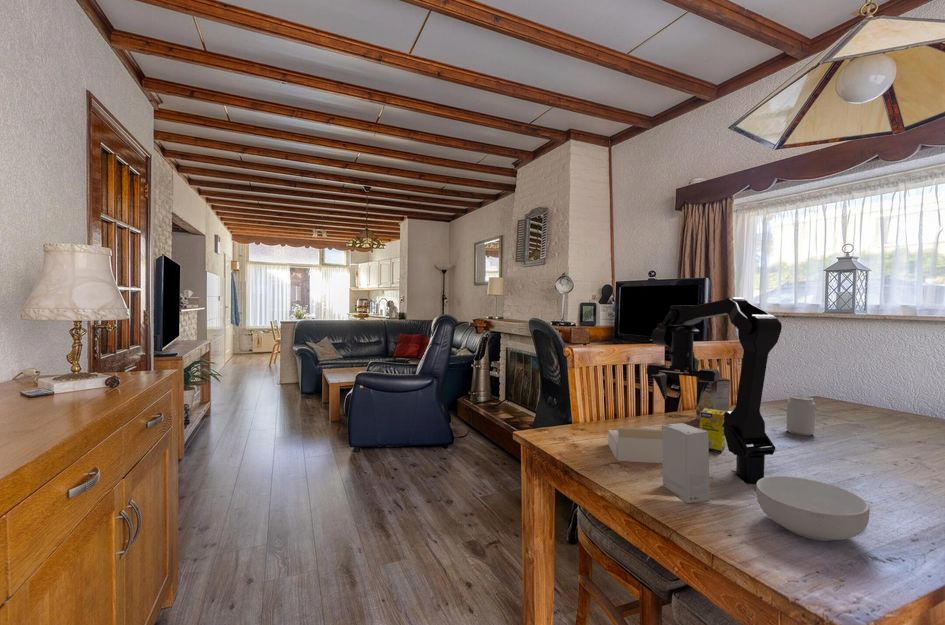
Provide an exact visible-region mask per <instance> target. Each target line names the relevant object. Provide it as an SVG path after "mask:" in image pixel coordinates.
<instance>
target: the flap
mask: <svg viewBox="0 0 945 625" xmlns="http://www.w3.org/2000/svg"><path fill="white" fill-rule="evenodd" d="M617 430H618V452H617V459H616V460H617V461H619V462H635V463H650V464H663V449H662V428H650V427H649V428H647V427H627V426H626V427H625V426H617Z"/></svg>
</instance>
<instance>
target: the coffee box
mask: <svg viewBox="0 0 945 625" xmlns="http://www.w3.org/2000/svg"><path fill="white" fill-rule="evenodd" d="M700 380H701V379H700V378H699V377H696V382H697V381H700ZM730 387H731V380H730V379H729V378H724V377H721V376H720V380H717V381H715V382H713V383H711V384H709V385H708V386H707V388H706V389H705V391H704V394H703V396H702V399H701V401H700V404H697V400H696V402H695V405H696V406H695V420H698V421H700V412H701V411H702V410H703V409H704V408H707V409H713V410H720V411H730Z"/></svg>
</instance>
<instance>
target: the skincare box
mask: <svg viewBox="0 0 945 625" xmlns="http://www.w3.org/2000/svg"><path fill="white" fill-rule="evenodd" d="M661 429H662V449H663V463H662V486H663V487H665V488H666V489H667V490H668V491H671V492H672V493H674V494H675V497H677V499H680V500H681V501H683V502H685V503H687V504H693V503H709V502H710V455H709V452H710V451H709V446H708V432H707V431H704V430H701V429H700V428H698V427H695V426H693V425H689V424H686V423H684V422H680V423H679V422H678V423H668V424H662V425H661Z"/></svg>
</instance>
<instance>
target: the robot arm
mask: <svg viewBox="0 0 945 625" xmlns="http://www.w3.org/2000/svg"><path fill="white" fill-rule="evenodd" d="M722 316H728V317H729V321H730V323H731V324H732V325H733V326H734V327H735V328H736V329H737V330H738V332H737V333H738V340H739V343H740V345H741V347H742V350H743V353H742V359H741V361H742V362H741V367H740V375H739V381H738V387H737V394H736V395H737V397H736V401H735V402H736V403H735V406H734V408H733V409H732V410H729V411H726V412H725V414H724V423H723V425H722V427H724V435H725V443H726V445H727V450H728V452H730V453H732V454H733V455H734V456H736V460H735V461H736V462H735V463H736V464H735V466H736V468H735V470H733V469H732V470H730V471H731V472H732V474H734V475H735V476H737V477H738V478H739V479H741V481H742V482H744V483H746V484H747V483H748V484H757V481H758V480H760V479H762V478H765V477H766V476H765V461H766V459H765V457H766V456H769V455H770V456H772V455H774V453H775V451H776V445H774V443H773V442H772V440H771V439H770V437H769V436H768V435H767V433H766V422H765V420H764V418H763V415H762V414H761V406H762V405H761V403H762V398H763V390H764V384H765V383H764V382H765V378H766V377H765V376H766V370H767V364H768V359H769V353H770V352H771V351H772V350H773V348H774V347H775V346H776V345H777V344H778V341H779V338H780V335H781V333H782V322H781V321H780V320H779V318H777V317H776V316H775V315H772V314H770V313H769V312H768V311H766V310H764V309H762V308H760V307H759V306H756V305H755V304H752V302H751V301H750V300H748V299H746V298H744V297H727V298H725V299H720V300H716V301H709V302H705V303H701V304H695V305H690V304H688V305H687V304H685V305H681V304H679V305H677V304H675V305H671V306H670V307H669V310H668V311H667V314H666V316H665V317H664V319H663V320H662V321H661V322H662V323H657V325H656V327H655V328H654V329H653V330H652V333H651V334H650V337H651V341H652V343H653V344H654V345H657V346H663V347H668V348H669V347H671V348H670V349H671V351H669V356H670V357H671V359H670V360H671V361H670V365H669V367H667V365H666V364H662V363H650V364H648V365H647V366H646V369H645V370H646V374H647V375H650V378H653V380H654V381H655V383H656V385H657V387H658V389H659V392H660V393H661V396H662V398H663V400H666V399H667V393H668V392H667V390H668V389H667V379H668V374H669V375H679V376H685V377H694V378H695V377H696V378H697V377H699V378H700V379H701V380H700V381H697V380H696V398H695V399H696V400H697V404H700V401H701V399H702V396H703V394H704V391H705V389H706V388H707V386H708V385H709V384H711V383H713V382H715V381H717V380H720V377H721V373H720V371H719V370H718V369H713V368H701V369H699V365H700V360H698V358H697V357H695V351H694V334H699V333H700V330H699V329H697V328H696V326H695V324H698V323H701V322H702V320H705V319H709V318H715V317H716V318H717V317H722ZM748 445H749V446H748ZM751 445H752V446H751Z"/></svg>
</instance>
